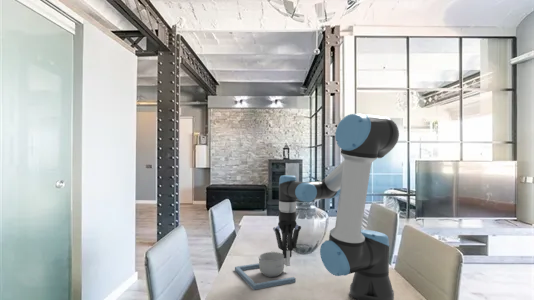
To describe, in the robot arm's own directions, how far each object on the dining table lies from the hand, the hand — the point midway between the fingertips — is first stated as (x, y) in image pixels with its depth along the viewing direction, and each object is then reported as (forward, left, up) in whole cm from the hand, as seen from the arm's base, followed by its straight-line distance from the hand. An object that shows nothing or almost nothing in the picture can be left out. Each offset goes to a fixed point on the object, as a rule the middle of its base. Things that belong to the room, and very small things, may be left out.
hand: (286, 265), depth 138 cm
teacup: (0, +7, -3) cm, 8 cm away
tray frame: (-1, +11, -3) cm, 11 cm away
